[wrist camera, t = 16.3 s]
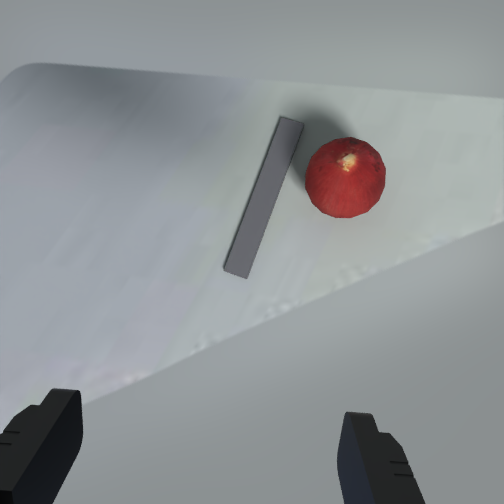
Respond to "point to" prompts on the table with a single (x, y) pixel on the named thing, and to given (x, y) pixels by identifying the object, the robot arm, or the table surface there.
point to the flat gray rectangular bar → (263, 198)
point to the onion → (345, 178)
